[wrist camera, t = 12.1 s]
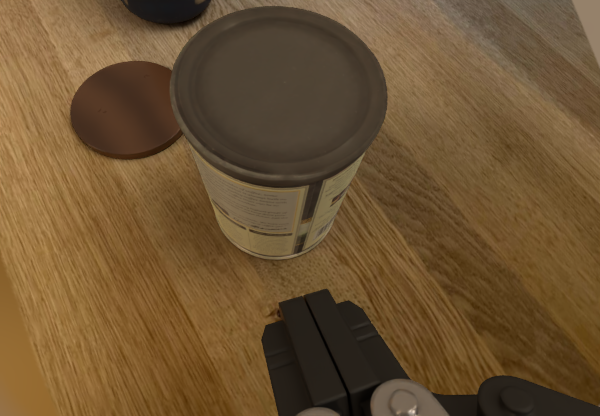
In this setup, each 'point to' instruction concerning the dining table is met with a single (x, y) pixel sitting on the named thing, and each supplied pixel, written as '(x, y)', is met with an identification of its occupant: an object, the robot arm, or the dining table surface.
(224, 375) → the dining table surface
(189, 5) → the canister
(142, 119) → the dark brown wooden coaster
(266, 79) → the coffee can
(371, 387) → the robot arm
